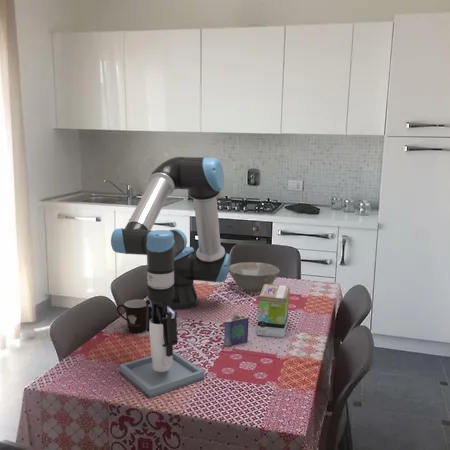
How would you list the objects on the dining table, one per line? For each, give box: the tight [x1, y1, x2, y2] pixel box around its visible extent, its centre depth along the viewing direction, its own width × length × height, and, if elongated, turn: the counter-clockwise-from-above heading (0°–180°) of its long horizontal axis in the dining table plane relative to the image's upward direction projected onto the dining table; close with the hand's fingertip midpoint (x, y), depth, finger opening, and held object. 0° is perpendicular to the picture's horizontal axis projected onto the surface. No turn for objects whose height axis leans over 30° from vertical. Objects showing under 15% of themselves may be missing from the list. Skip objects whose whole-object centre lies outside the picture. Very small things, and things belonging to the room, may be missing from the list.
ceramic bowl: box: [228, 261, 280, 293], centre depth 227 cm, size 22×23×10 cm
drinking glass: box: [148, 317, 171, 372], centre depth 146 cm, size 7×7×15 cm
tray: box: [119, 350, 205, 399], centre depth 147 cm, size 18×18×2 cm
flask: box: [223, 312, 250, 348], centre depth 170 cm, size 9×3×11 cm, turn 121°
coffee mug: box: [116, 299, 147, 335], centre depth 181 cm, size 12×9×10 cm
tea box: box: [256, 284, 291, 338], centre depth 182 cm, size 15×10×15 cm
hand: (161, 360), depth 147 cm, fingers closed on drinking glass, 6 cm apart
